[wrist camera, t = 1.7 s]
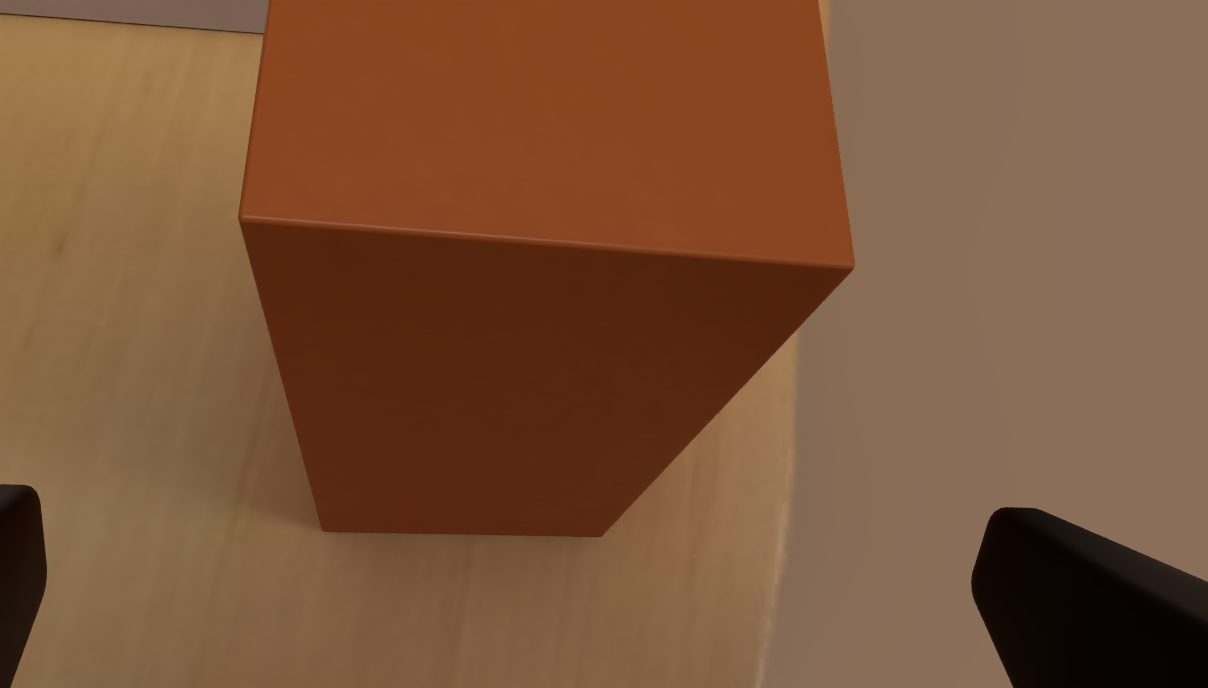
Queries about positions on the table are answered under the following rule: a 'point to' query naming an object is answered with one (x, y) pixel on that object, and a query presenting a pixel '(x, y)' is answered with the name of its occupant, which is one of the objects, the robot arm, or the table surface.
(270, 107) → the orange block
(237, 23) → the holder
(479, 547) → the table surface
